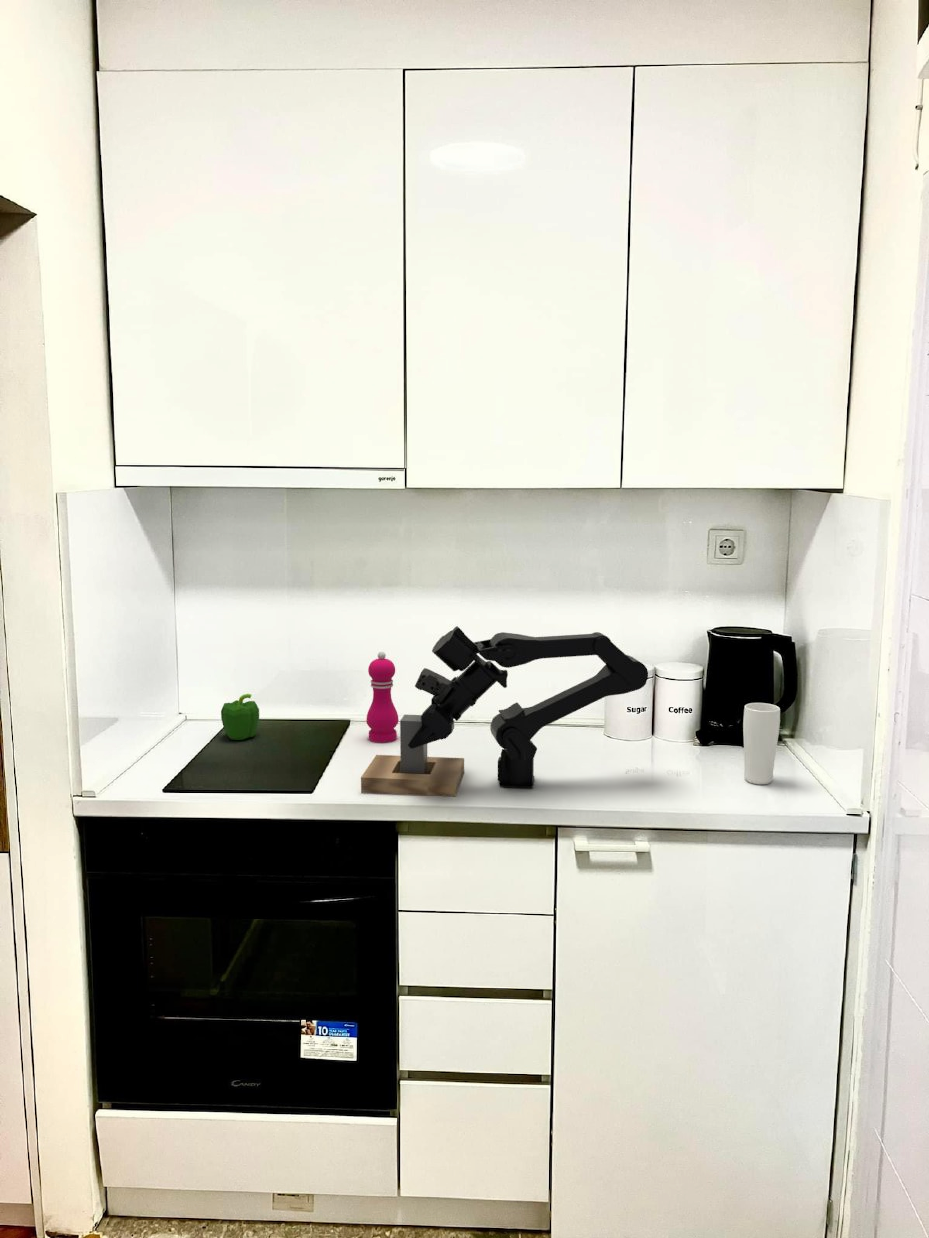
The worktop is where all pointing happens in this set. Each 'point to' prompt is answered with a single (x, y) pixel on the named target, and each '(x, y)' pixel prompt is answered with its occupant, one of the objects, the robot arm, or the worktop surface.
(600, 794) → the worktop surface
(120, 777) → the worktop surface
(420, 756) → the plug block
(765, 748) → the drinking glass
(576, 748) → the worktop surface
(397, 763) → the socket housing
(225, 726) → the bell pepper
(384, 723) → the pepper mill
